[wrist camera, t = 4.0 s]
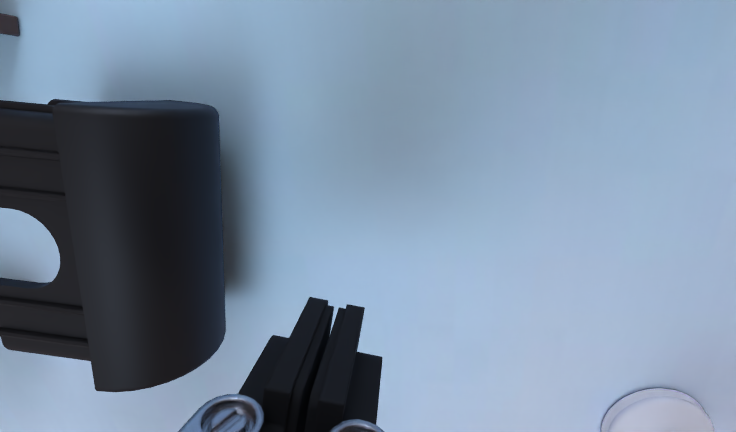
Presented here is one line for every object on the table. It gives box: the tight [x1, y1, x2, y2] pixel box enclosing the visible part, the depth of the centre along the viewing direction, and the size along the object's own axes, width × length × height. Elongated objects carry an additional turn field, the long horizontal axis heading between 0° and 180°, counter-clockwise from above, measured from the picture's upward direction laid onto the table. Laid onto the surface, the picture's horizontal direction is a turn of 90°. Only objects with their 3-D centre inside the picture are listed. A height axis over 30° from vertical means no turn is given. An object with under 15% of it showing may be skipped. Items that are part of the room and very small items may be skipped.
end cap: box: [0, 99, 226, 392], centre depth 16 cm, size 10×7×7 cm
